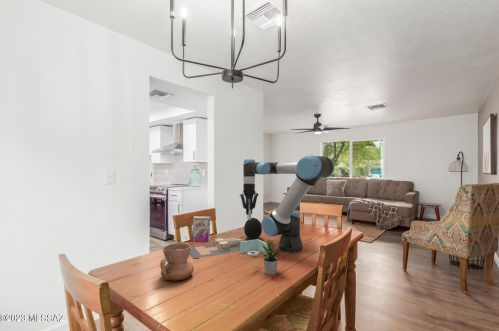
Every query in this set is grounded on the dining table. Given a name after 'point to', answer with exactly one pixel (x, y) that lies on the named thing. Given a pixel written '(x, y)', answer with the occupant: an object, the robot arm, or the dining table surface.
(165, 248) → the ceramic jug
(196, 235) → the candy bar box
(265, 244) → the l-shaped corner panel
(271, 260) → the house plant
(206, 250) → the board
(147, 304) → the dining table surface
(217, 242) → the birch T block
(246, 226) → the decorative egg
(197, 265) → the dining table surface
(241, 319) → the dining table surface
